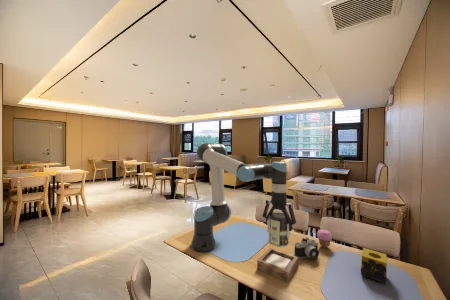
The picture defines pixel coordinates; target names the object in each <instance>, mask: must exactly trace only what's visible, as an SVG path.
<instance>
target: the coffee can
mask: <svg viewBox="0 0 450 300" xmlns="http://www.w3.org/2000/svg"><path fill="white" fill-rule="evenodd" d="M287 224H288V221H287V218H286V217H285V215H284V213H283V212H273V213H272V214H269V232H268V241H267V242H268V243H269V244H270V245H271V246H273V247H276V248H286V247H288V246H289V243H290V242H289V238H287Z"/></svg>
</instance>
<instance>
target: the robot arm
mask: <svg viewBox="0 0 450 300" xmlns="http://www.w3.org/2000/svg"><path fill="white" fill-rule="evenodd" d="M196 156H197V158H198V159H199V161H202V162H203V163H205V164H207V165H209V167H210V168H209V169H210V170H209V171H210V188H211V202H210V203H209V206H208V205H205V206H200V207H198V208H196V209H195V211H194V215H193V216H194V217H193V219H194V220H193V221H194V224H193V225H194V229H193V233H194V234H193V236H192V240H191V243H190V247H191V249H192V250H193V251H195V252H197V253H199V252H200V253H206V252H210V251H212V250H214V249H215V248H216V246H217V245H216V244H217V243H216V240H215V236H214V227H216V226H218V225H221V224H224V223H225V222H227V221H229V220H230V218H231V216H232V209H231V207H230V205H228V202H227V200H225V185H224V184H225V183H224V171H226V172H229V173H231V174H232V175H235V176H237V178H238V179H239V181H241V182H246V183H248V182H251V181H256V180H261V179H265V180H266V179H267V180H271V195H270V196H271V199H266V200H265V206H264V209H263V213H262V218H264V219H265V225H266V226H267V228H266V230H267V231H266V232H267V233H269V214H272V213H274V211H275V210H279V211H281V213H284V215H285V217H286V218H287V221H288V224H287V238H288V239H290V237H291V232H292V231H293V225H296V223H297V219H296V217H295V212H294V209H293V203H289V202H287V175H288V174H287V173H288V170H287V163H286V162H284V161H272V163H271V164H261V163H258V164H257V163H256V164H253V165H249V164H246V163H244V162H242V161H239V160H237V159H235V158H232V157H231V156H228V149H227V148H226V146H225V145H224V144H222V143H219V142H218V143H217V142H216V143H213V142H212V143H210V142H208V143H207V142H206V143H201V144H200V145H199V146H198V147H197V149H196ZM270 204H271V205H272V206H271V207H270ZM286 207H287V208H288V209H287V208H286ZM269 209H270V210H269Z"/></svg>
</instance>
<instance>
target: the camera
mask: <svg viewBox="0 0 450 300" xmlns="http://www.w3.org/2000/svg"><path fill="white" fill-rule="evenodd" d="M318 248H319V241H317V240H315V239H310V237H303V238H302V239H301V241H300V242H297V241H296V242H295V243H294V255H293V256H296V257H298V260H301V259H305V258H306V259H307V258H309V259H310V260H313V261H314V260H316V259H318V257H319V255H320V251H319V249H318Z"/></svg>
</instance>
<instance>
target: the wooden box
mask: <svg viewBox="0 0 450 300" xmlns="http://www.w3.org/2000/svg"><path fill="white" fill-rule="evenodd" d="M256 264H257V265H256V268H257V270H260V271H262V272H263V273H266V274H268V275H271V276H273V277H276V278H277V279H280V280H282V281H285V282H287V283H288V282H289V281H290V280H291V278H292V277H293V275H294V273H295V271H296V270H297V268H298V267H299V259H298V257H296V256H294V255H293V254H291V253H288V252H284V251H281V250H279V249H276V248H273V247H269V248H268V249H267V250H266V251H265V252H264V253H263V254H262V255H260V257H259V258H257V263H256Z"/></svg>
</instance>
